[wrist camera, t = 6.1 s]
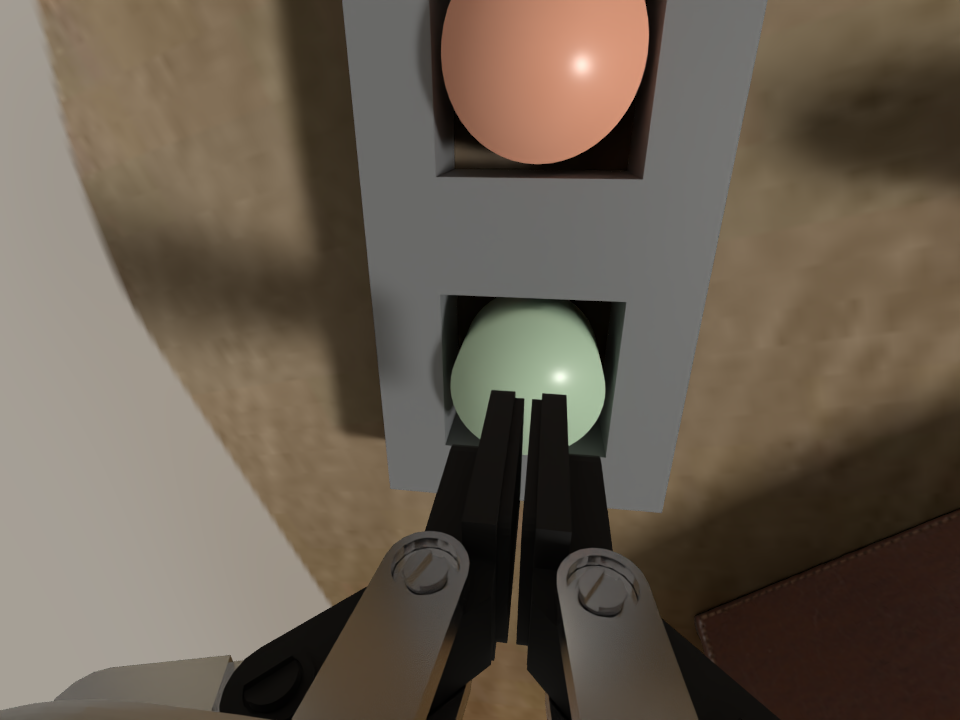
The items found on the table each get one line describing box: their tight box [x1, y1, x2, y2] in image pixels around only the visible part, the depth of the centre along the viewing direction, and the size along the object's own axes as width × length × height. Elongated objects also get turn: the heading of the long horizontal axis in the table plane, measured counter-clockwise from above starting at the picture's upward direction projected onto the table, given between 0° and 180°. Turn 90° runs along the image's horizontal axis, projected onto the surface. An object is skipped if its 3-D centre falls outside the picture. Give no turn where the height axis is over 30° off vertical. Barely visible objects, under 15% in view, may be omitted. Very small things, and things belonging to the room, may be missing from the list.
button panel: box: [342, 0, 767, 513], centre depth 13 cm, size 28×10×3 cm, turn 0°
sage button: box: [451, 297, 605, 455], centre depth 17 cm, size 5×5×3 cm
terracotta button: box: [441, 0, 649, 164], centre depth 13 cm, size 5×5×3 cm
